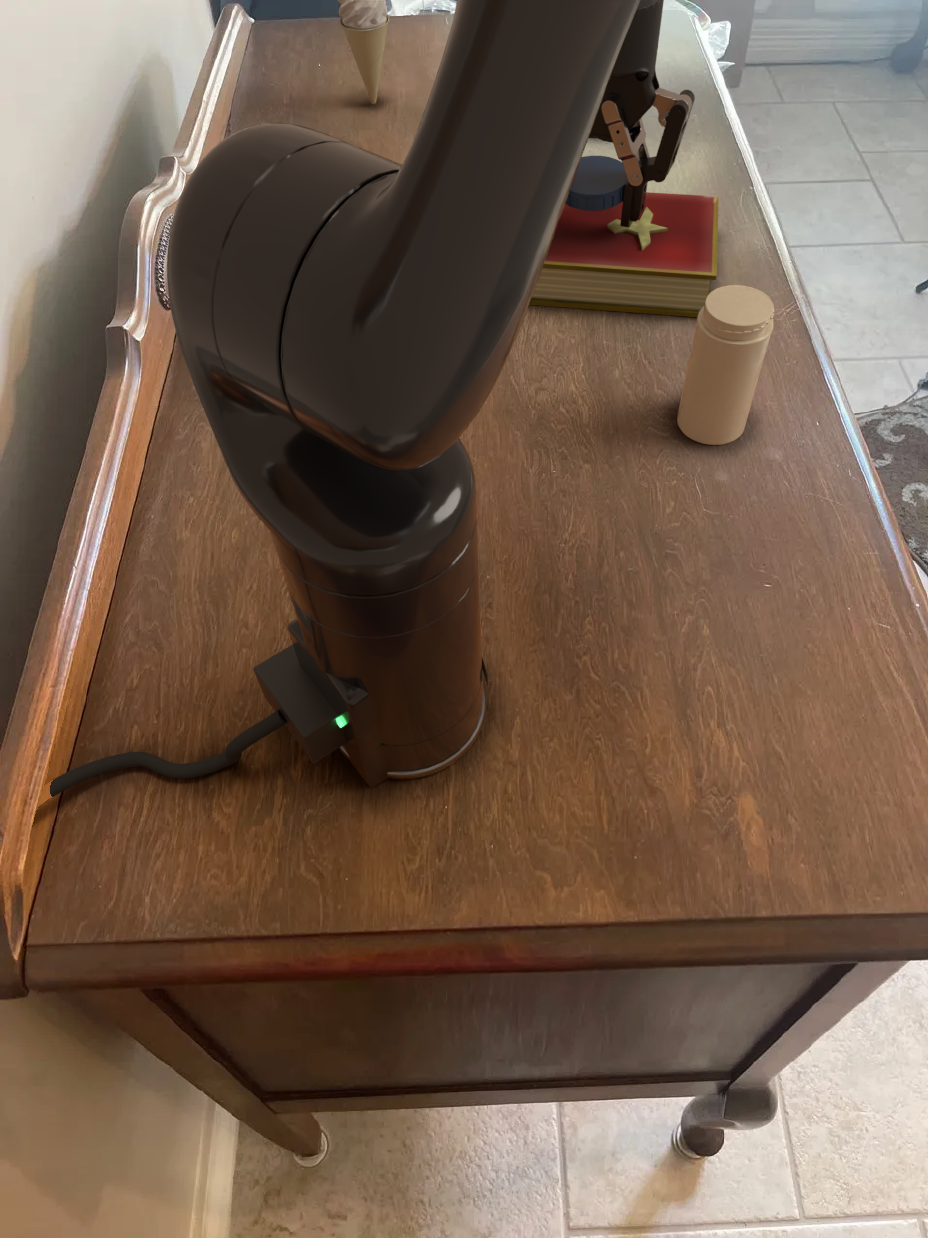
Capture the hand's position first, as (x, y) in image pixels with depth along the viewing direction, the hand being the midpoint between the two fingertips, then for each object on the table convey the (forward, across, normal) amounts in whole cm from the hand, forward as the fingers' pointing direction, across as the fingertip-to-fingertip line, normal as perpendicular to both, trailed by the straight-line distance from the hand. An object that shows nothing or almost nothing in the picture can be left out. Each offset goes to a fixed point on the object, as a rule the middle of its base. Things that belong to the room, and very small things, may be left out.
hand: (591, 214), depth 77 cm
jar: (+5, -15, +15) cm, 22 cm away
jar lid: (-3, 0, 0) cm, 3 cm away
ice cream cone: (-3, +31, -20) cm, 37 cm away
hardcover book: (+5, 0, 0) cm, 5 cm away
